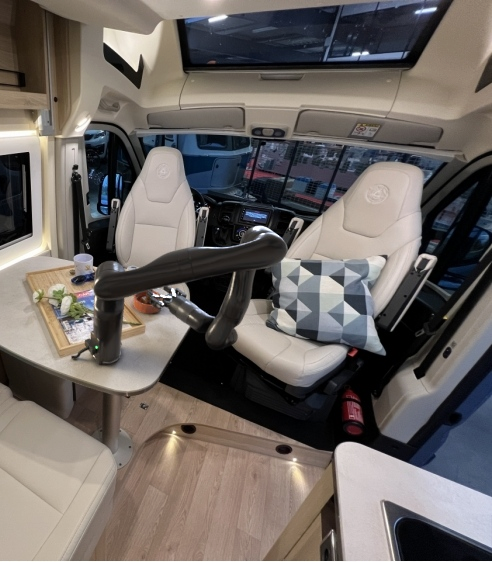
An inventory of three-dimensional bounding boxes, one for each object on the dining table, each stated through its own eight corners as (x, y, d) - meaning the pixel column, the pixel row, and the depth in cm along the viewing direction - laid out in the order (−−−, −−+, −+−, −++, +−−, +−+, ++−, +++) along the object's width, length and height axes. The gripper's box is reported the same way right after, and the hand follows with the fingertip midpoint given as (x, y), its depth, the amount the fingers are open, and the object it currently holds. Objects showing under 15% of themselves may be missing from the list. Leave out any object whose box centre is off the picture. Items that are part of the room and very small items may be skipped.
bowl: (144, 317, 116) (145, 308, 114) (127, 302, 125) (128, 293, 123) (167, 309, 122) (168, 300, 120) (149, 295, 131) (150, 287, 129)
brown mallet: (146, 308, 121) (149, 279, 114) (140, 304, 123) (144, 275, 116) (155, 305, 123) (159, 276, 116) (149, 301, 126) (153, 272, 119)
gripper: (200, 296, 106) (170, 277, 117) (171, 307, 99) (142, 285, 110) (196, 313, 109) (167, 293, 121) (168, 324, 102) (140, 302, 114)
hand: (156, 289), depth 116 cm, fingers open, 8 cm apart
